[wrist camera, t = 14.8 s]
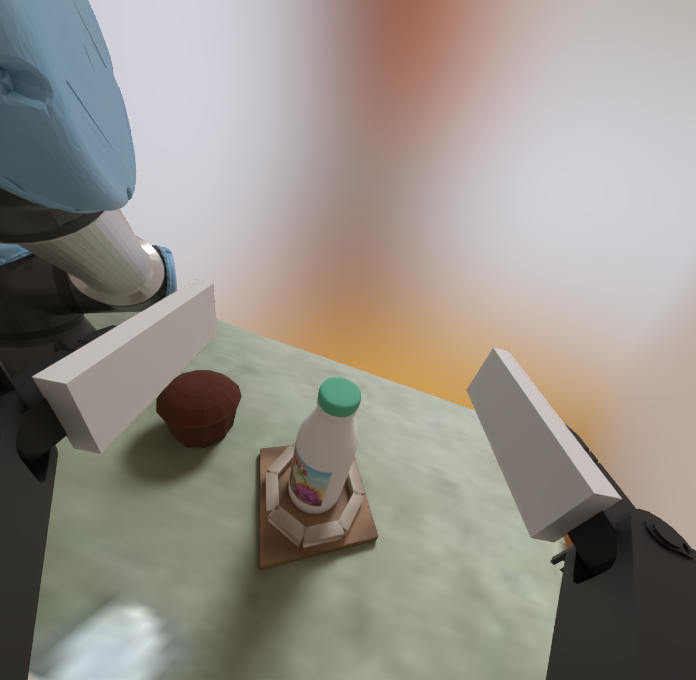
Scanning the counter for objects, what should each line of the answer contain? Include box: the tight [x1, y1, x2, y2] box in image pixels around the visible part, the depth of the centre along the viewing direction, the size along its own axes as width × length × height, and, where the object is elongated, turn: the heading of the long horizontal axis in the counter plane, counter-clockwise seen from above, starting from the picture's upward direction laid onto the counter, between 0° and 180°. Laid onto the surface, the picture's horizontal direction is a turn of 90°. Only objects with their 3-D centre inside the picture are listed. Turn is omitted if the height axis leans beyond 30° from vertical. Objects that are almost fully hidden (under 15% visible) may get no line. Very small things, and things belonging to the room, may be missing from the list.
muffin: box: [156, 370, 242, 447], centre depth 42 cm, size 12×11×10 cm
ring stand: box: [260, 443, 378, 569], centre depth 38 cm, size 15×15×3 cm
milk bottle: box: [288, 378, 361, 514], centre depth 33 cm, size 8×8×20 cm
